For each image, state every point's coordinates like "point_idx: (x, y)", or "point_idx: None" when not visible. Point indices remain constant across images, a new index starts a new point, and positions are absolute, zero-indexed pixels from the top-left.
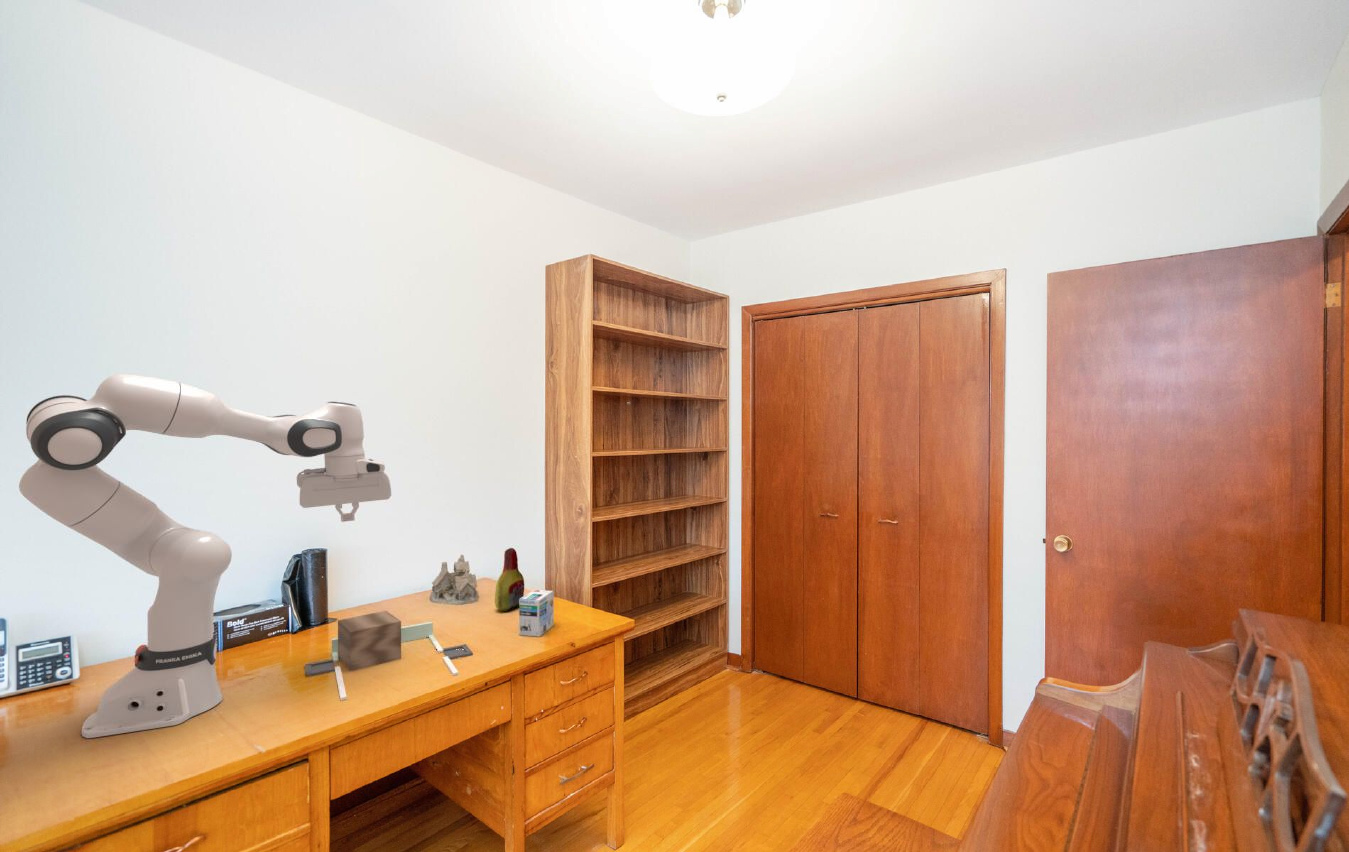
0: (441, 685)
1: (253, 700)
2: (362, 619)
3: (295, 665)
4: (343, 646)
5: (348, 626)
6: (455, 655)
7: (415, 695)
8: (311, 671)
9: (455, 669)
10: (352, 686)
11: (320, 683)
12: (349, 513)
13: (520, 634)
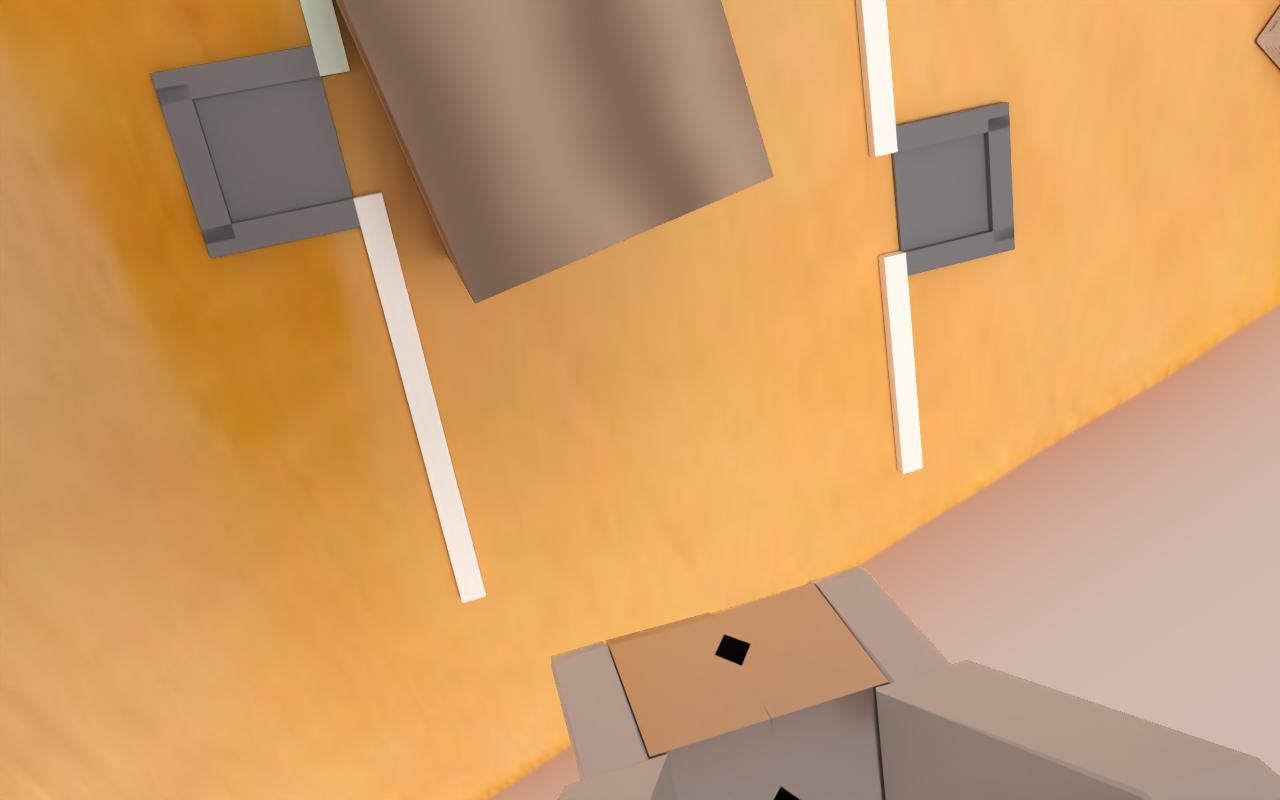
0: (844, 552)
1: (28, 492)
2: (514, 17)
3: (78, 25)
4: (389, 117)
5: (437, 167)
6: (940, 257)
7: None
8: (225, 195)
9: (916, 434)
10: (488, 459)
11: (321, 375)
12: (837, 767)
13: (1262, 46)
